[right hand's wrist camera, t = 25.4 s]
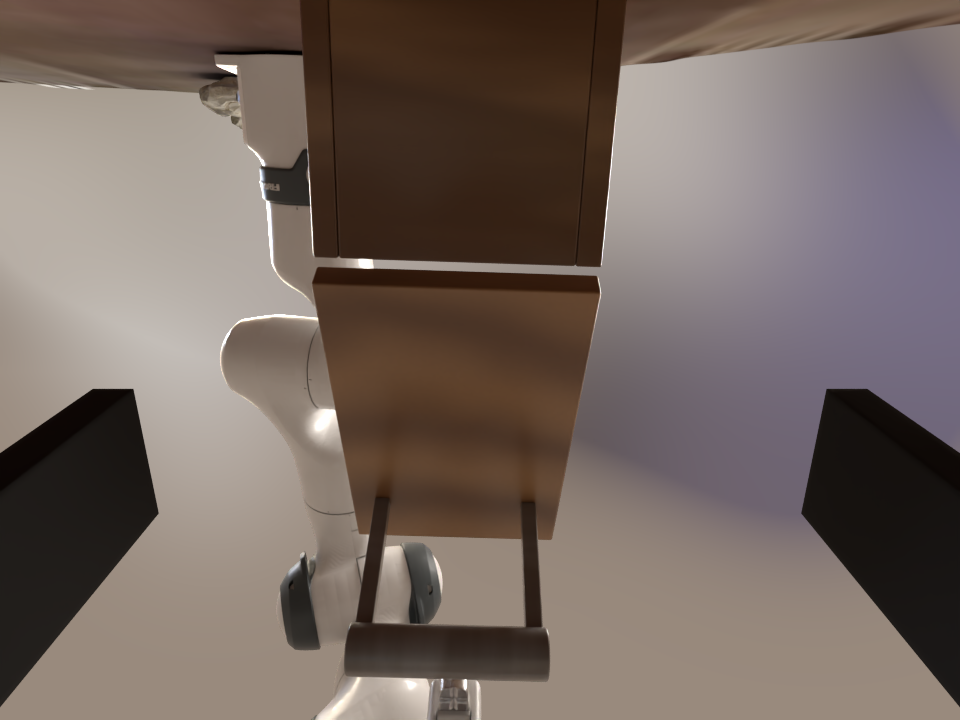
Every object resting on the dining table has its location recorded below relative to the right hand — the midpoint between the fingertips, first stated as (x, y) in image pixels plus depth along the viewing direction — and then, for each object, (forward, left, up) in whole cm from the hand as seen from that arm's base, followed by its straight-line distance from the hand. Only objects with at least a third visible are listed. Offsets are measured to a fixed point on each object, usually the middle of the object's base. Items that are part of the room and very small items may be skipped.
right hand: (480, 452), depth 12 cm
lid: (+9, -12, +6) cm, 16 cm away
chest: (+11, -14, -13) cm, 22 cm away
